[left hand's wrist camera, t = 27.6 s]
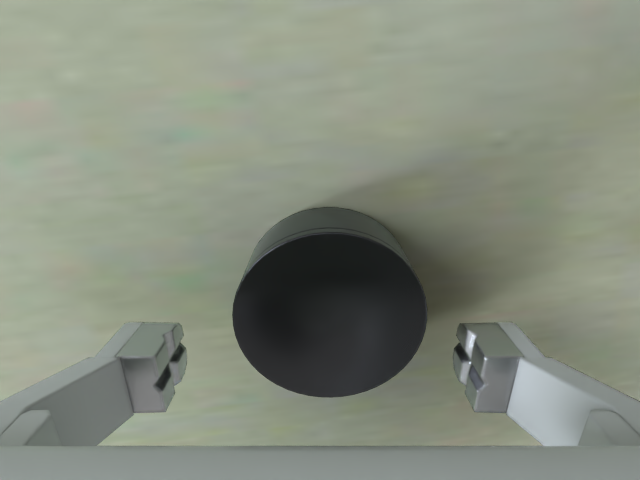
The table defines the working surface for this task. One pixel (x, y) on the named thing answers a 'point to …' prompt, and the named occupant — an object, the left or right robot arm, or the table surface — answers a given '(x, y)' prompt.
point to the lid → (329, 304)
